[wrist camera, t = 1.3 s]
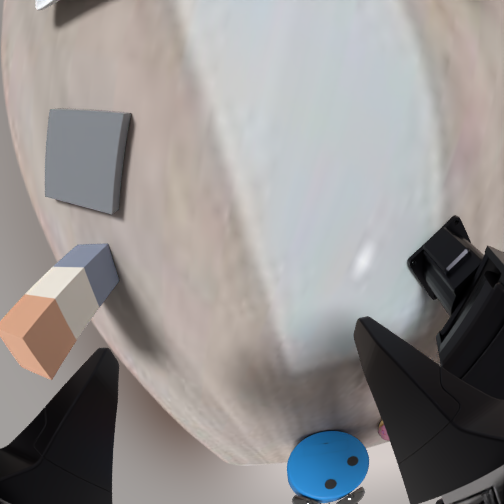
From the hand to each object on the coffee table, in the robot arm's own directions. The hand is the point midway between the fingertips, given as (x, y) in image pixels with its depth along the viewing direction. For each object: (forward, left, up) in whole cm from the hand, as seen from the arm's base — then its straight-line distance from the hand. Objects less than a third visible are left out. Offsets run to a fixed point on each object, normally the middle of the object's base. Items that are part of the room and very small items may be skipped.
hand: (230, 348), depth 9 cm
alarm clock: (-35, +20, -13) cm, 43 cm away
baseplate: (+14, +5, -13) cm, 20 cm away
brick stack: (+8, +14, -13) cm, 20 cm away
